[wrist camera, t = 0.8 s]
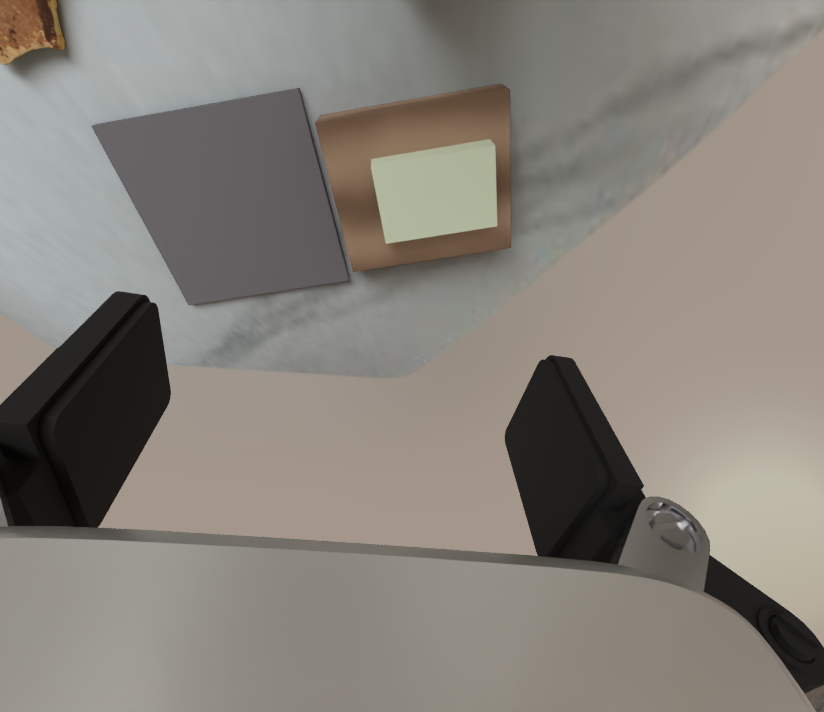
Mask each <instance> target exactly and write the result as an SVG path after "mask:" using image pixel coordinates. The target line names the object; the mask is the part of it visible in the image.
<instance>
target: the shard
mask: <svg viewBox="0 0 824 712" xmlns="http://www.w3.org/2000/svg"><path fill="white" fill-rule="evenodd" d="M56 10H57V2H56V0H0V63H1V64H2V65H7V64H8V63H11V62H12V61H13V60H14V59H15V58H17V57H19V56H21V55H23V54H25V53H27V52H29V51H31V50H36V49H40V48H46V47H50V48H54V49H58V50H63V49H65V40H64V37H63V35H62V31H61V28H60V23H59V19H58V14H57V11H56Z"/></svg>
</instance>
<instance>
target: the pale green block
mask: <svg viewBox="0 0 824 712" xmlns="http://www.w3.org/2000/svg"><path fill="white" fill-rule="evenodd" d="M371 171H372V176H373V181H374V186H375V191H376V196H377V202H378V207H379V212H380V217H381V222H382V227H383V232H384V237H385V243H386V244H389V243H395V242H401V241H408V240H414V239H420V238H427V237H433V236H439V235H446V234H452V233H458V232H465V231H471V230H477V229H484V228H490V227H496V226H497V191H496V151H495V145H494V143H493V142H492V141H491V140H490V139H488V140H482V141H476V142H470V143H464V144H458V145H452V146H446V147H440V148H434V149H428V150H422V151H416V152H411V153H405V154H399V155H393V156H387V157H381V158H375V159H371Z"/></svg>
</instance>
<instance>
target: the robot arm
mask: <svg viewBox="0 0 824 712" xmlns="http://www.w3.org/2000/svg"><path fill="white" fill-rule="evenodd" d="M170 394H171V391H170V383H169V378H168V371H167V364H166V357H165V351H164V345H163V338H162V332H161V325H160V319H159V312H158V307H157V305H156V304H155V303H151V302H150V301H149V298H148V297H147V296H146V295H140V294H133V293H127V292H120V291H118V292H115V293H114V294H112V295H111V296H110V297H109V298H108V299H107V300H106V301H105V302H104V303H103V304H102V305H101V306H100V307H99V308H98V309H97V310H96V311H95V312H94V313H93V314H92V315H91V316H90V317H89V318H88V319H87V320H86V321H85V322H84V323H83V324H82V325H81V326H80V327H79V328H78V329H77V330H76V331H75V332H74V333H73V334H72V335H71V336H70V337H69V338H68V339H67V340H66V341H65V342H64V343H63V344H62V345H61V346H60V347H59V348H57V349H56V350H55V351H54V352H53V353H52V354H51V355H50V356H49V357H48V358H47V359H46V360H45V361H44V362H43V363H42V364H41V365H40V366H39V367H38V368H37V369H36V370H35V371H34V372H33V373H32V374H31V375H30V376H29V377H28V378H27V379H26V380H25V381H24V382H23V383H22V384H21V385H20V386H19V387H18V388H17V389H16V390H15V391H14V392H13V393H12V394H11V395H10V396H9V397H8V398H7V399H6V400H5V401H4V402H3V403H2V404H1V405H0V712H824V647H823V646H822V645H821V643H820V642H819V640H818V639H817V638H816V636H815V635H814V634H813V633H812V631H810V629H809V628H808V627H807V626H806V625H805V624H804V623H803V622H802V621H800V619H798V618H797V617H796V616H795V615H793V614H792V613H791V612H790V611H788V610H786V609H785V608H784V607H782V606H781V605H780V604H778V603H777V602H775V601H774V600H773V599H771V598H770V597H768V596H767V595H765V594H764V593H763V592H761V591H760V590H758V589H757V588H755V587H754V586H753V585H751V584H750V583H748V582H747V581H746V580H744V579H743V578H741V577H740V576H738V575H737V574H736V573H734V572H733V571H732V570H730V569H729V568H727V567H726V566H725V565H723V564H722V563H720V562H719V561H717V560H716V559H715V558H713V557H712V556H710V555H709V554H710V541H709V539H708V536H707V534H706V532H705V530H704V529H703V527H702V526H701V524H700V523H699V522H698V520H697V519H695V517H693V515H692V514H690V513H689V512H688V511H687V510H686V509H684V508H683V507H681V506H680V505H678V504H677V503H674V502H673V501H671V500H668V499H665V498H661V497H648V498H646V497H645V496H644V494H643V492H642V490H641V489H642V488H643V486H644V485H643V483H642V481H641V480H640V478H639V476H638V474H637V473H636V471H635V469H634V467H633V465H632V464H631V462H630V460H629V458H628V456H627V455H626V453H625V451H624V449H623V447H622V446H621V444H620V442H619V440H618V439H617V437H616V435H615V433H614V431H613V430H612V428H611V426H610V424H609V422H608V421H607V419H606V417H605V415H604V413H603V412H602V410H601V408H600V407H599V404H598V403H597V401H596V399H595V397H594V396H593V394H592V392H591V390H590V388H589V387H588V385H587V383H586V381H585V379H584V378H583V376H582V374H581V372H580V370H579V369H578V367H577V365H576V363H575V361H574V360H573V359H571V358H566V357H560V356H553V355H550V356H549V357H547V358H546V360H541V361H540V362H539V364H538V365H537V367H536V369H535V371H534V373H533V376H532V378H531V380H530V382H529V384H528V386H527V388H526V390H525V392H524V394H523V396H522V398H521V400H520V402H519V404H518V406H517V409H516V411H515V413H514V415H513V417H512V419H511V421H510V423H509V425H508V427H507V429H506V433H505V444H506V447H507V451H508V454H509V458H510V461H511V465H512V468H513V472H514V475H515V478H516V482H517V486H518V489H519V492H520V496H521V499H522V503H523V507H524V510H525V514H526V517H527V520H528V524H529V528H530V531H531V535H532V538H533V541H534V545H535V549H536V552H537V555H538V556H530V555H516V554H502V553H489V552H475V551H461V550H448V549H434V548H420V547H405V546H390V545H389V546H388V545H375V544H361V543H346V542H330V541H315V540H300V539H284V538H268V537H253V536H235V535H220V534H204V533H188V532H171V531H154V530H134V529H133V530H132V529H112V528H97V527H98V526H99V525H100V524H101V522H102V520H103V519H104V517H105V515H106V513H107V512H108V510H109V508H110V506H111V504H112V503H113V501H114V499H115V497H116V496H117V494H118V492H119V490H120V489H121V487H122V485H123V483H124V482H125V480H126V478H127V476H128V475H129V473H130V471H131V469H132V468H133V466H134V464H135V462H136V460H137V459H138V457H139V455H140V453H141V452H142V450H143V448H144V446H145V445H146V443H147V441H148V439H149V438H150V436H151V434H152V432H153V430H154V429H155V427H156V425H157V423H158V422H159V420H160V418H161V416H162V415H163V413H164V411H165V409H166V408H167V406H168V404H169V400H170Z"/></svg>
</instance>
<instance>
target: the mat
mask: <svg viewBox="0 0 824 712" xmlns="http://www.w3.org/2000/svg"><path fill="white" fill-rule="evenodd" d="M92 128H93V130H94V132H95V134H96V135H97V137H98V139H99V141H100V143H101V145H102V147H103V148H104V150H105V152H106V154H107V156H108V158H109V159H110V161H111V163H112V165H113V167H114V169H115V170H116V172H117V174H118V176H119V178H120V180H121V181H122V183H123V185H124V187H125V189H126V191H127V192H128V194H129V196H130V198H131V200H132V202H133V204H134V205H135V207H136V209H137V211H138V213H139V215H140V216H141V218H142V220H143V222H144V224H145V226H146V227H147V229H148V231H149V233H150V235H151V237H152V238H153V240H154V242H155V244H156V246H157V248H158V250H159V251H160V253H161V255H162V257H163V259H164V261H165V262H166V264H167V266H168V268H169V270H170V272H171V273H172V275H173V277H174V279H175V281H176V283H177V284H178V286H179V288H180V290H181V292H182V294H183V295H184V297H185V299H186V301H187V303H188V305H193V304H200V303H206V302H213V301H219V300H226V299H232V298H239V297H245V296H252V295H258V294H265V293H271V292H278V291H284V290H291V289H297V288H304V287H310V286H317V285H323V284H330V283H336V282H343V281H349V274H348V270H347V266H346V263H345V259H344V255H343V251H342V247H341V244H340V240H339V236H338V232H337V228H336V225H335V221H334V217H333V213H332V209H331V206H330V202H329V198H328V194H327V190H326V187H325V183H324V179H323V175H322V171H321V168H320V164H319V160H318V156H317V152H316V149H315V145H314V141H313V137H312V133H311V130H310V126H309V122H308V118H307V114H306V111H305V107H304V103H303V99H302V95H301V92H300V88H296V89H291V90H285V91H279V92H274V93H268V94H263V95H257V96H252V97H246V98H240V99H235V100H229V101H224V102H218V103H212V104H207V105H201V106H196V107H190V108H184V109H179V110H173V111H168V112H162V113H157V114H151V115H145V116H140V117H134V118H129V119H123V120H117V121H112V122H106V123H101V124H95V125H93V126H92Z"/></svg>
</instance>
